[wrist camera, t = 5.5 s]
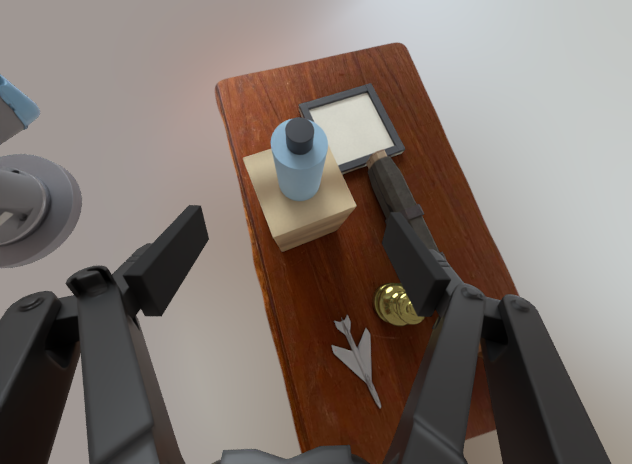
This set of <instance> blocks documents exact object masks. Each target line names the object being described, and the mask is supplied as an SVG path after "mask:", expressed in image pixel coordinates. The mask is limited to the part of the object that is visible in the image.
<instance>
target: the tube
mask: <svg viewBox="0 0 632 464" xmlns="http://www.w3.org/2000/svg"><path fill="white" fill-rule="evenodd" d="M366 164H367V166H368V168H369V170H368V175H369V178H370V181H371V185H372V188H373V190H374V193H375V195H376V197H377V199H378V201H379V204H380V206H381V208H382V210H383V212H384V215H385V217H386V220H385V223H386V225H387V223H388V219H389V216H390V212H397V213H401V214H402V215H403V216H404V218H405V219H406V220H407V222H408V223H409V224H410V226H411V227H412V228H413V230H414V231H415V232H416V233H417V235H418V236H419V237H420V239H421V240H422V241H423V243H424V244H425V245H426V247H427V248H428V249H434V250H435V251H437V252H438V253H439V254H441V255H442V256H443V258H444V259H445V260H446V258H445V256H444V254H443V252H439V250H438V248H437V246H436V244H435V242H434V240H433V238H432V235H431V233H430V231H429V229H428V227H427V225H426V223H425V221H424V219H423V217H422V215H424V213H423V211H422V208H421V206H420V205H419V204H416V202H415V200H414V198H413V196H412V194H411V192H410V190H409V188H408V186H407V184H406V182H405V179H404V177H403V175H402V173H401V172H400V170H399V169H398V167H397V166H396V165H395V163H394V162H393V160H392V159H391V158H390V156H387V155H386V152H385V150H384V149H382V150H379V151H376V152H375V153H373V154H372V155H371V156H370V158H369V159H368V161H367V162H366ZM446 262H447V260H446Z"/></svg>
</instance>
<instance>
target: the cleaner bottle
mask: <svg viewBox="0 0 632 464" xmlns="http://www.w3.org/2000/svg"><path fill="white" fill-rule="evenodd" d="M271 149H272V154H273V159H274V163H275V168H276V173H277V178H278V183H279V187H280V189H281V191H282V193H283V194H284V195H285V196H286V197H288V198H289V199H291V200H294V201H305V200H308V199H310V198H312V197H313V196H314V195H315V194H316V193H317V191H318V189H319V186H320V181H321V177H322V172H323V168H324V164H325V159H326V155H327V150H328V140H327V137H326V134H325V132H324V131H323V129H322V128H321V127H320V126H319V125H317V124H316V123H314V122H313V121H310V120H307V119H305V118H301V117H297V118H293V119H290V120H287V121H285V122H283V123H281V124H280V125H279V126H278V127H277V128H276V129H275V131H274V132H273V135H272V138H271Z"/></svg>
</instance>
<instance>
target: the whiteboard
mask: <svg viewBox="0 0 632 464" xmlns="http://www.w3.org/2000/svg"><path fill="white" fill-rule="evenodd" d="M299 112H300V114H301V116H302V118H305V119H307V120H310V121H313V122H314V123H316V124H317V125H319V126H320V127H321V128H322V129H323V131H324V132H325V134H326V137H327V140H328V145H329V147H330V149H331V152H332V154H333V156H334V158H335V160H336V162H337V165H338V167H339V169H340V171H341V173H342V174H345V173H348V172H351V171H354V170H356V169H359V168H362V167H365V166H367V164H366V162H367V161H368V159H369V158H370V156H371V155H372V154H373V153H375V152H376V151H379V150H382V149H384V150H385V152H386V155H387V156H390V157H393V156H396V155H398V154H401V153H402V152H403V151H404V150H405V148H404V146H403V144H402V142H401V140H400V138H399V136H398V134H397V132H396V130H395V128H394V126H393V125H392V123H391V121H390V119H389V117H388V115H387V113H386V111H385V109H384V107H383V105H382V103H381V101H380V100H379V98H378V96H377V94H376V92H375V90H374V88H373V86H372V84H371V83H370V84H367V85H363V86H360V87H356V88H353V89H350V90H346V91H343V92H340V93H336V94H333V95H329V96H326V97H323V98H319V99H316V100H313V101H309V102H306V103H302V104H299Z"/></svg>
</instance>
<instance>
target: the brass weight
mask: <svg viewBox="0 0 632 464" xmlns="http://www.w3.org/2000/svg"><path fill="white" fill-rule="evenodd" d="M372 305H373V309H374V311H375V313H376V314H377V315H378V317H380V318H381V319H382V320H384V321H386V322H388V323H390V324H392V325H394V326H406V325H408V324H418V323H420V322H422V321H423V320H424V318H425V317H418V316H417V314H416V312H415V310H414V308H413V306H412V304H411V302H410V300H409V298H408V296H407V294H406V292H405V290H404V288H403V286H402V284H401V283H385V284H382V285H381V286H379V287H378V288H377V289H376V290H375V292H374V294H373V298H372Z"/></svg>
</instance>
